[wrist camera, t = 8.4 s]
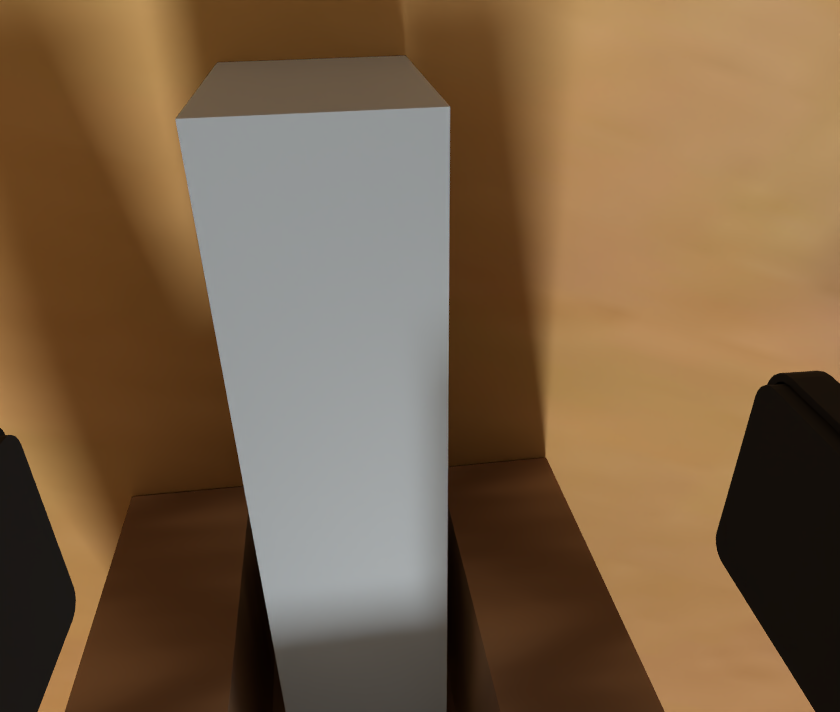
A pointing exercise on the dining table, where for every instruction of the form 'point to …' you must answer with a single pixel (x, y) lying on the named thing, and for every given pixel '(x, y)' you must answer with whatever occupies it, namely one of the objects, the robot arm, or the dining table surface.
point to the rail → (335, 360)
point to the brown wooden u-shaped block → (466, 608)
